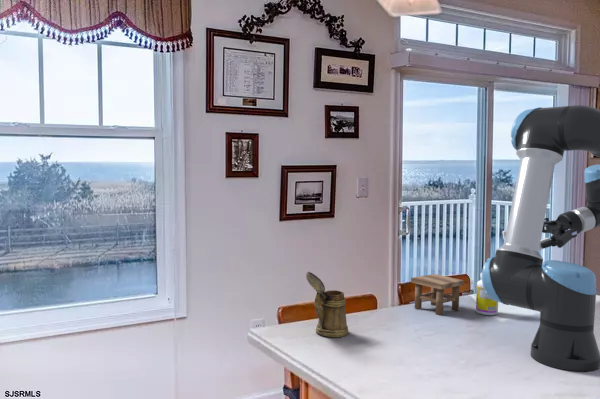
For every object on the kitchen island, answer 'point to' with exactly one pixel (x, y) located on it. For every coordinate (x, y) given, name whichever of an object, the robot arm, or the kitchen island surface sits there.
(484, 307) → the supplement bottle
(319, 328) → the wooden mug
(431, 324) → the kitchen island surface
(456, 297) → the stool
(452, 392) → the kitchen island surface
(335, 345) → the kitchen island surface
